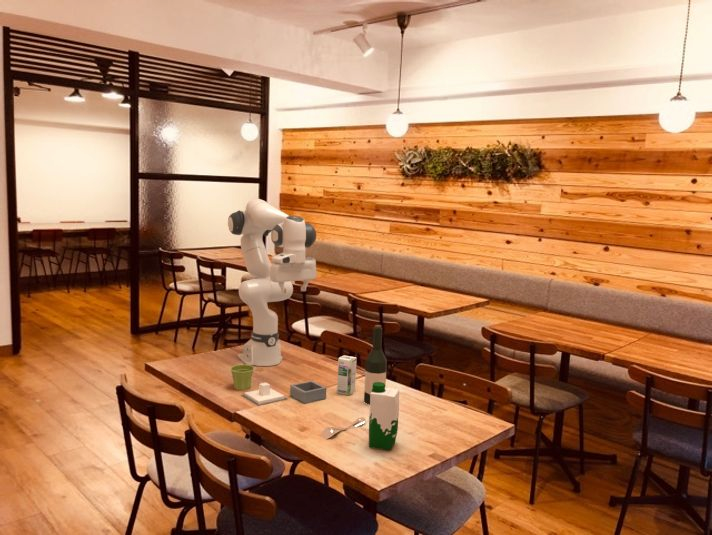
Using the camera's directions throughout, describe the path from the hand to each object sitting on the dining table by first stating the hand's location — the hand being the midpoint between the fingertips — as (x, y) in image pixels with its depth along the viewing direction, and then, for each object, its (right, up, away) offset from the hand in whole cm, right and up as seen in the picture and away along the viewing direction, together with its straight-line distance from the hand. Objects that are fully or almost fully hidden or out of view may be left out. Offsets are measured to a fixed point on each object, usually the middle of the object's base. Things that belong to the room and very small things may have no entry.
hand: (293, 292), depth 240 cm
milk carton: (+33, -48, -46) cm, 74 cm away
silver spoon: (+21, -46, -36) cm, 62 cm away
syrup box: (+21, -40, +1) cm, 45 cm away
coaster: (-10, -40, -10) cm, 43 cm away
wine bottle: (+32, -42, -8) cm, 54 cm away
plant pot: (-20, -39, -1) cm, 44 cm away
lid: (-10, -40, -10) cm, 42 cm away
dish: (+6, -41, -8) cm, 42 cm away
